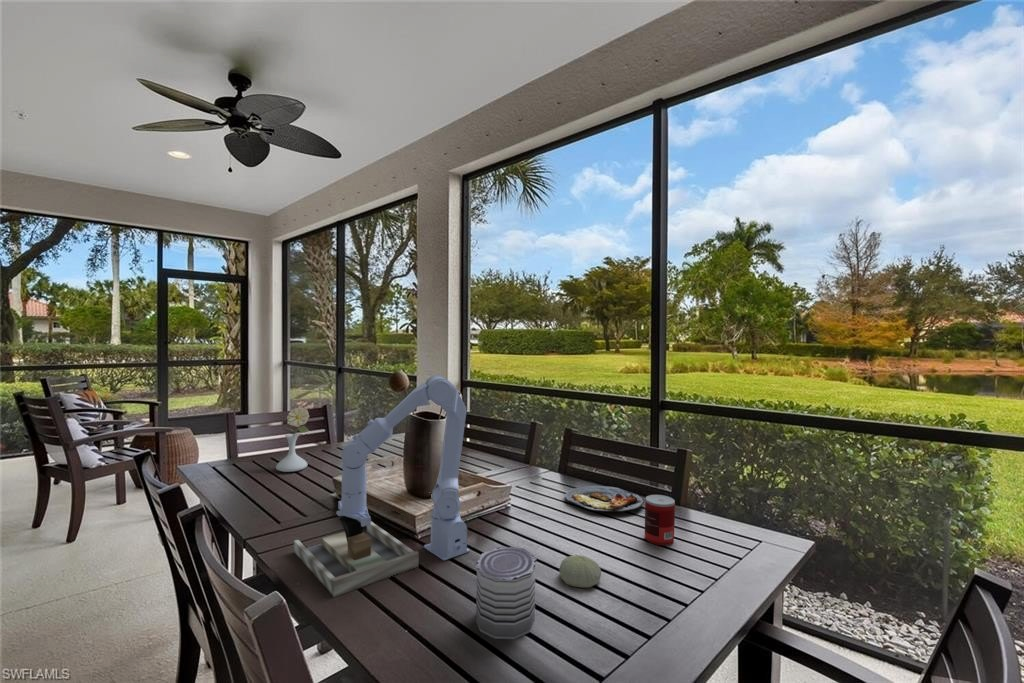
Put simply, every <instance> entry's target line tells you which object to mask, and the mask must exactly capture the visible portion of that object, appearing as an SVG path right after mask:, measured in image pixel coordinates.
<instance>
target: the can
mask: <svg viewBox="0 0 1024 683" xmlns="http://www.w3.org/2000/svg"><path fill="white" fill-rule="evenodd" d="M537 559H538V558H537V557H535V555H533V554H532V553H531V552H529V551H528V550H527V549H526V548H523V547H512V546H499V547H496V548H494V549H490V550H487V551H484V552H482V553H481V555H480V556H479V558H478V560H477V562H476V564H475V565H474V566H475V568H476V598H475V602H476V604H475V605H476V607H475V609H476V610H475V617H476V618H475V621H476V625H477V627H478V629H479V632H480V633H483V634H485V635H486V636H488V637H490V638H492V639H494V640H516V639H518V638H520V637H523V636H525V635H527V634H530V632H531V630H532V629H533V626H534V624H535V616H536V615H535V614H536V613H535V610H536V562H537Z"/></svg>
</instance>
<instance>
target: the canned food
mask: <svg viewBox="0 0 1024 683" xmlns="http://www.w3.org/2000/svg"><path fill="white" fill-rule="evenodd" d="M675 502H676V501H675V499H674V498H672V497H671V496H667V495H662V494H650V495H647V496H645V500H644V539H645V540H646V541H647V542H648V543H650V544H653V545H658V546H669V545H672V543H674V541H675V540H674V539H675V520H676V519H675V517H676V514H675V513H676V503H675Z"/></svg>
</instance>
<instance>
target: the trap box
mask: <svg viewBox="0 0 1024 683" xmlns="http://www.w3.org/2000/svg"><path fill="white" fill-rule="evenodd" d="M362 533H365V534H366V535H367V536H368V537H370V538H371V555H370V556H367V557H364V558H361V559H357V560H353V559H352V558H351V557H350V556H349V555H348V543H347V539H346V534H345V531H344V532H339V533H335V534H331V535H329V536H328V535H327V536H324V537H321V543H318V544H314V545H311V546H308V547H306V545H304V544H303V543H302V542H301V541H300V540H299V539H295V540H293V553H294V554H295V556H296V555H297V556H298V557H299V558H300V559H301V560H300V559H299V558H298V557H297V556H296V557H297V558H298V559H299V560H300V561H301V562H302V564H304V566H305V565H306V566H305V567H306V568H307V569H308V570H309V572H311V574H314V575H313V576H314V577H315V578H316V579H317V581H318V582H319V583H320V584H321V583H322V584H321V585H322V586H323V587H324V588H325V589H326V590H327V591H328V593H330V595H331V596H332V598H335V597H339V596H341V595H344V594H347V593H350V592H353V591H355V589H356V590H358V589H361V588H364V587H367V586H369V585H368V584H370V585H372V584H375V583H377V581H378V582H380V580H381V581H384V580H387V579H389V578H392V577H394V576H393V575H395V576H397V575H396V574H398V575H400V574H399V573H401V572H403V573H406V572H408V570H409V571H411V570H410V569H412V570H414V569H413V568H415V569H417V568H419V563H420V562H419V561H420V560H419V557H420V556H419V555H420V554H419V551H417V550H415V551H414V550H413V549H412V548H410V547H409V546H407V545H406V544H404V542H402V541H400V540H399V539H397V538H396V537H394V536H393V535H391V533H389V532H387V531H386V530H384V529H383V528H382V527H380V526H379V525H377V524H375V523H374V522H373V521H372V520H371V525H368V526H366V531H362ZM416 567H417V568H416ZM405 571H406V572H405ZM401 574H402V573H401ZM391 576H392V577H391ZM383 579H384V580H383ZM374 582H375V583H374ZM371 583H372V584H371ZM366 585H367V586H366ZM363 586H364V587H363Z"/></svg>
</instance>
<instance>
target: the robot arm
mask: <svg viewBox="0 0 1024 683" xmlns="http://www.w3.org/2000/svg"><path fill="white" fill-rule="evenodd" d="M430 401H432V402H433V403H434V404H436V405H437V406H440V408H442V409H443V411H444V412H445V414H446V418H445V426H444V432H443V433H444V435H443V442H442V451H441V457H440V458H441V459H440V464H439V465H440V466H439V472H438V476H437V479H436V483H435V486H434V488H433V489H432V490H431V491H432V492H431V493H432V494H431V498H432V501H433V503H434V505H433V509H432V510H431V513H430V543H428V544H427V543H426V544H423V548H424V549H425V550H427V551H428V552H430V553H431V554H433V555H434V556H436V557H438V558H439V559H440V560H442V561H446V560H447V561H448V560H450V559H452V558H455V557H457V556H461V555H464V554H466V553H469V552H470V548H468V526H467V524H466V523H465V522H464V521H463V519H462V518H461V515H460V514H461V513H460V509H461V505H462V504H461V500H460V498H459V490H460V489H459V474H460V473H459V472H460V466H461V465H460V464H461V455H462V449H463V443H464V442H463V440H464V434H465V424H466V420H467V419H466V417H467V406H466V405H465V403H464V401H463V398H462V396H461V395H460V393H459V391H458V388H457V387H456V386H455V385H454V384H453V383H452V382H451V381H450V380H448V379H446V378H445V377H444V376H442V375H439V374H436V375H435V374H434V375H432V376H429V377H428V378H427V379H426V381H425V382H422V383H420V384H419V385H417V387H415V388H414V389H413V390H412V391H410V393H409V394H408V395H407V396H406V397H405V398H403V399H402V400H401V401H400V402H399V404H397V405H396V406H395V407H393V409H391V411H390V412H389V413H387V415H386V416H384V417H376V418H375V419H374V420H373V419H369V421H368V422H366V424H367V426H366V427H365V428H364V429H362V430H361V431H360V432H359V433H358V434H356V433H355V434H354V435H352V437H351V440H348V441H347V442H346V443H345V444H344V445H343V448H342V451H341V454H340V455H341V462H342V466H341V467H342V468H341V469H342V472H341V500H339V501H338V502H337V503H338V504H337V505H338V506H337V507H338V510H336V515H337V516H338V517H339V522H340V523H341V525H342V528H343V530H344V532H345V534H346V539H347V543H348V537H351V536H355V535H358V534H362V532H364V528H365V527H367V526H368V525H371V521H372V517H371V515H370V514H369V510H368V506H367V485H368V484H367V475H368V474H367V473H368V472H367V469H366V468H367V467H366V465H367V464H366V462H367V460H368V455H370V454H373V453H374V452H375V451H376V450H378V449H379V448H380V447H381V446H382V445H383V444H384V443H386V441H387V440H388V439H390V438H391V437H392V436H393V431H394V430H393V428H394V427H395V426H397V425H398V424H399V423H400V422H401V421H402V420H404V419H405V418H406V417H408V415H410V414H411V413H412V412H413V411H414V410H416V409H417V408H418V407H424V406H430V405H431V402H430Z"/></svg>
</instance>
